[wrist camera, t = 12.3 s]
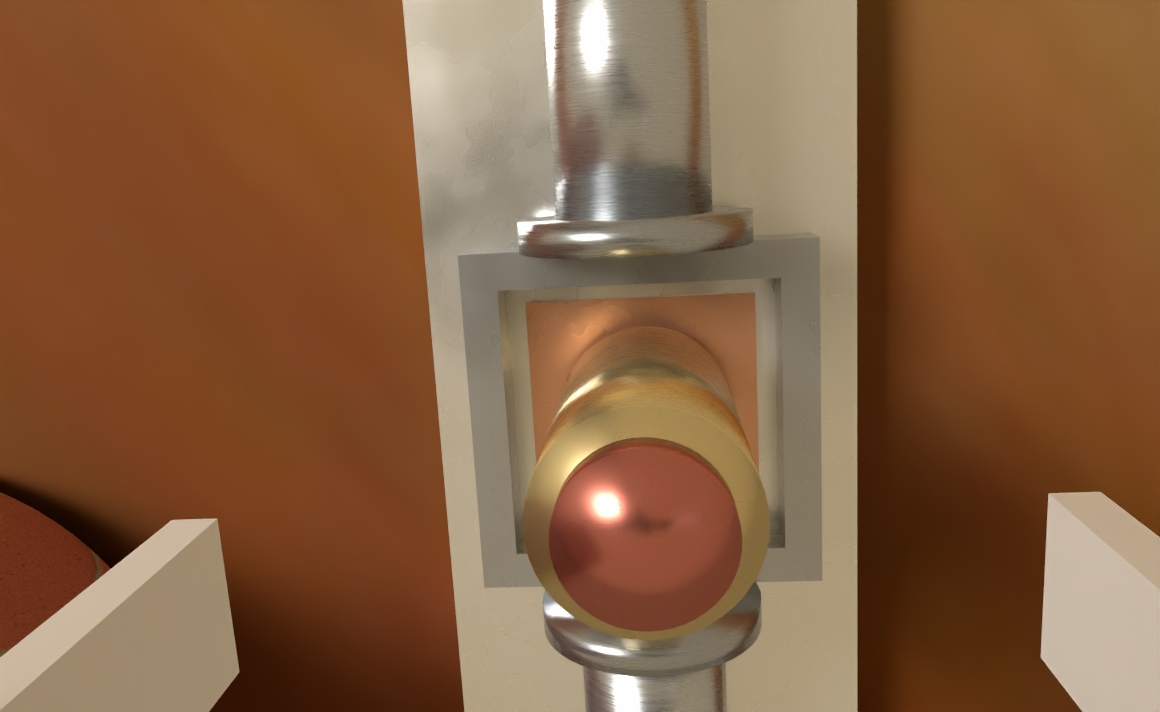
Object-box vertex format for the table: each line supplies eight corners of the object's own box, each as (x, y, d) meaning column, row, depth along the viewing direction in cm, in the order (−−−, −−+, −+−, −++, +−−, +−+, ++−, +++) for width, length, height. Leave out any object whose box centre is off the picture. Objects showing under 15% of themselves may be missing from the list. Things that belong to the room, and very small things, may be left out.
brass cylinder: (558, 329, 27) (508, 422, 18) (729, 322, 27) (773, 412, 17) (568, 491, 28) (525, 662, 19) (733, 486, 28) (777, 658, 18)
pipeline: (407, -84, 27) (332, -159, 21) (845, -119, 26) (907, -209, 20) (483, 807, 33) (442, 964, 26) (848, 807, 31) (897, 970, 25)
